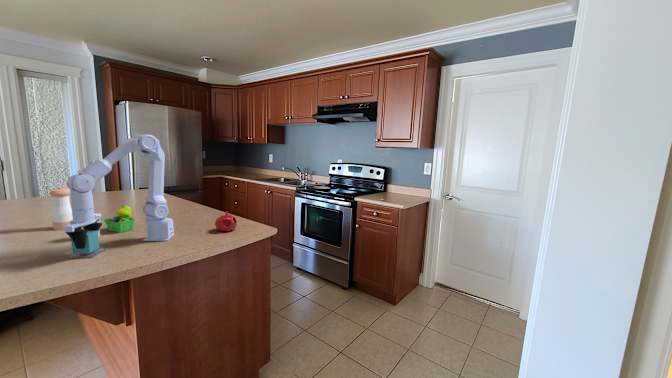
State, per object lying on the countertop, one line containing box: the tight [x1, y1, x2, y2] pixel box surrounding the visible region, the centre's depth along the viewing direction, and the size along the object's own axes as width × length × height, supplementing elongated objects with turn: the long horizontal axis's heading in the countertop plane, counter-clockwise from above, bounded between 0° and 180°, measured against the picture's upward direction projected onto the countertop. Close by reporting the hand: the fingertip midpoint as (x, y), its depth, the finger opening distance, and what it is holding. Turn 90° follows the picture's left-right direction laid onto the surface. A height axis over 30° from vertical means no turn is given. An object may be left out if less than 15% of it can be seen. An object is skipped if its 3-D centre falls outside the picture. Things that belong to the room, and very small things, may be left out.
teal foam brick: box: [70, 231, 101, 254], centre depth 99 cm, size 5×5×7 cm
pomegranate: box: [214, 210, 238, 232], centre depth 134 cm, size 10×10×9 cm
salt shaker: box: [49, 186, 73, 231], centre depth 127 cm, size 7×7×19 cm
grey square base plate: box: [68, 248, 105, 259], centre depth 99 cm, size 7×7×6 cm
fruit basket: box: [103, 204, 136, 233], centre depth 128 cm, size 11×9×11 cm
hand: (86, 245), depth 99 cm, fingers closed on teal foam brick, 5 cm apart
